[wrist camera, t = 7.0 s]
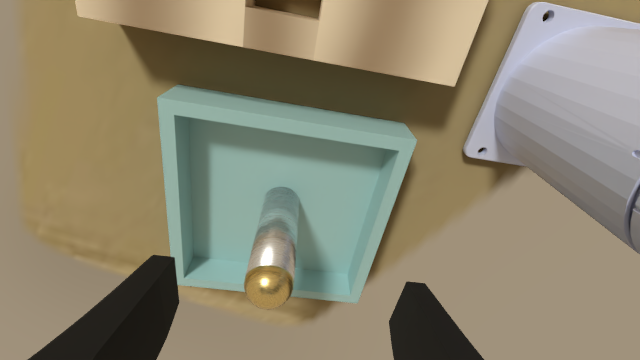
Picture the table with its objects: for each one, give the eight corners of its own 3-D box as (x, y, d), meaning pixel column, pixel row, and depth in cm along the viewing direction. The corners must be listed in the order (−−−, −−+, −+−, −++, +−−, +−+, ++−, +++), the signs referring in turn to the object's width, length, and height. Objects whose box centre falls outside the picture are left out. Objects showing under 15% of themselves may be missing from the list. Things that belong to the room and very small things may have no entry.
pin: (300, 188, 19) (294, 287, 12) (298, 216, 20) (290, 321, 13) (264, 185, 19) (238, 284, 12) (263, 214, 20) (239, 319, 13)
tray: (404, 122, 17) (417, 140, 15) (353, 275, 24) (357, 303, 21) (177, 84, 16) (157, 97, 14) (186, 256, 22) (173, 284, 20)
